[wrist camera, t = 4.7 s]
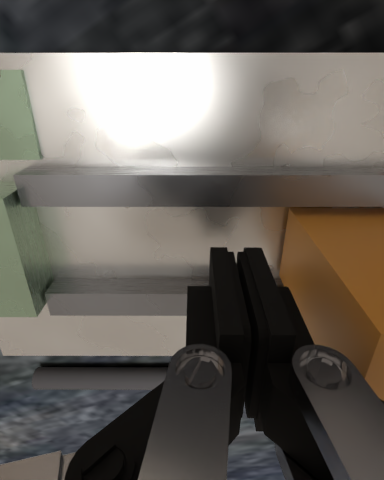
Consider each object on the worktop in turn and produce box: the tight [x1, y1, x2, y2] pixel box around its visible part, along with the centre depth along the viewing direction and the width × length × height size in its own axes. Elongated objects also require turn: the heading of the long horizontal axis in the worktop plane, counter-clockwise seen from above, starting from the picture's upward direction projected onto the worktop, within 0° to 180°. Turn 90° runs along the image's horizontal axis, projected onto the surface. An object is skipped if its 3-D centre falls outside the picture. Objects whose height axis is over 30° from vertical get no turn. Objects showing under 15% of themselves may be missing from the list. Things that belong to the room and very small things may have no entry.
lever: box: [279, 208, 384, 401], centre depth 10 cm, size 4×3×7 cm
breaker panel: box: [0, 53, 384, 356], centre depth 13 cm, size 22×14×3 cm, turn 90°
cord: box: [32, 367, 168, 390], centre depth 19 cm, size 20×1×1 cm, turn 90°
